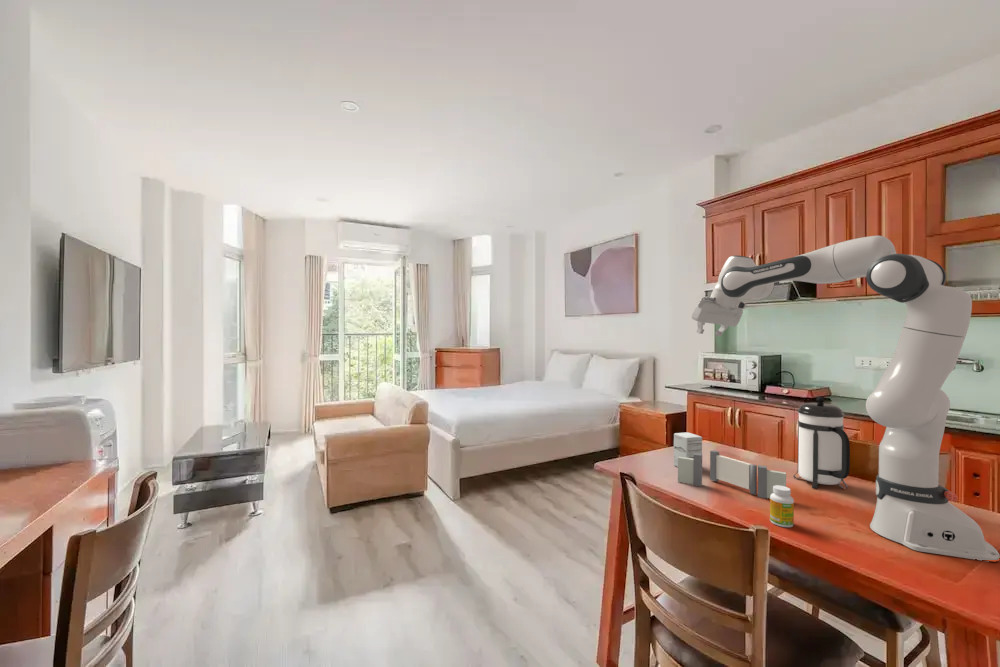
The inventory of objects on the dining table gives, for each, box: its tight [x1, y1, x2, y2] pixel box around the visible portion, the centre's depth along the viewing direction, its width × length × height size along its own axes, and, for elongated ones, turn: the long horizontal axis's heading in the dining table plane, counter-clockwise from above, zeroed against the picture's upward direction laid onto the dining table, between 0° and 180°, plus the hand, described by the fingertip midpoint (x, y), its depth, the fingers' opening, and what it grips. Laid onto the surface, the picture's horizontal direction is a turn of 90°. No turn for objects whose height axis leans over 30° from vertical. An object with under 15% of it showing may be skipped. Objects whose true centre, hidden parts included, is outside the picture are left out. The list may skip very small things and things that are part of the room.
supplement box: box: [673, 431, 703, 468], centre depth 162 cm, size 7×7×13 cm
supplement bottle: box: [769, 485, 795, 528], centre depth 115 cm, size 5×5×10 cm
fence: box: [677, 453, 787, 500], centre depth 139 cm, size 31×2×10 cm, turn 58°
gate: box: [709, 449, 758, 495], centre depth 141 cm, size 15×2×10 cm, turn 28°
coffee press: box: [793, 395, 851, 490], centre depth 144 cm, size 17×16×30 cm
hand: (708, 334), depth 158 cm, fingers open, 8 cm apart
